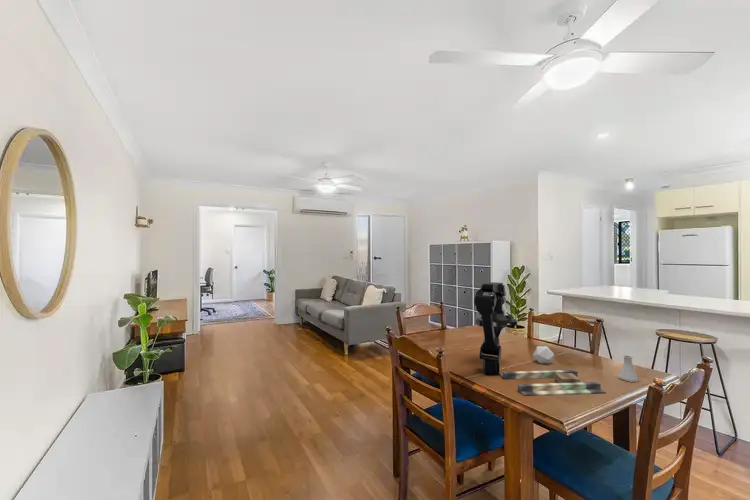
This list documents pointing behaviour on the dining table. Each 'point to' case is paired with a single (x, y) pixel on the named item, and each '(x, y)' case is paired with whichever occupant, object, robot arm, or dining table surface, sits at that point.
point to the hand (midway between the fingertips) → (496, 339)
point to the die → (543, 354)
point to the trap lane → (552, 384)
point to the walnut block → (566, 378)
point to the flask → (628, 370)
